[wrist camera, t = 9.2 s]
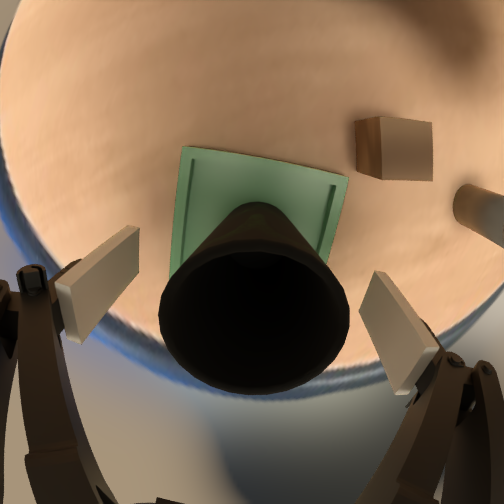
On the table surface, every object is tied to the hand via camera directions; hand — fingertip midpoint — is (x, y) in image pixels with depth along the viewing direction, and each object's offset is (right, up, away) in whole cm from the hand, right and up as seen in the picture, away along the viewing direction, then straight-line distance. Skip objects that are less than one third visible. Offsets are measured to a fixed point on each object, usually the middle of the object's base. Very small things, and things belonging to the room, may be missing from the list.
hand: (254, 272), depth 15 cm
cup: (0, +2, +7) cm, 8 cm away
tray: (0, +3, +8) cm, 8 cm away
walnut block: (+10, +9, +5) cm, 14 cm away
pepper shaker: (+20, +6, +6) cm, 22 cm away
